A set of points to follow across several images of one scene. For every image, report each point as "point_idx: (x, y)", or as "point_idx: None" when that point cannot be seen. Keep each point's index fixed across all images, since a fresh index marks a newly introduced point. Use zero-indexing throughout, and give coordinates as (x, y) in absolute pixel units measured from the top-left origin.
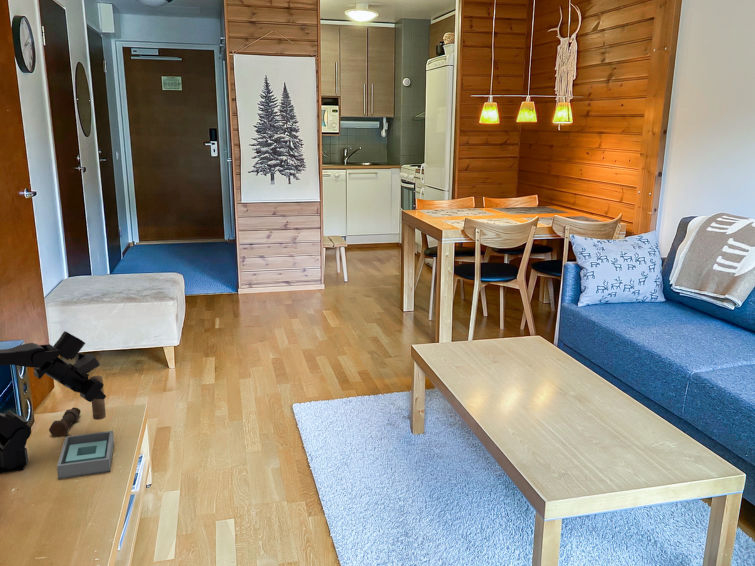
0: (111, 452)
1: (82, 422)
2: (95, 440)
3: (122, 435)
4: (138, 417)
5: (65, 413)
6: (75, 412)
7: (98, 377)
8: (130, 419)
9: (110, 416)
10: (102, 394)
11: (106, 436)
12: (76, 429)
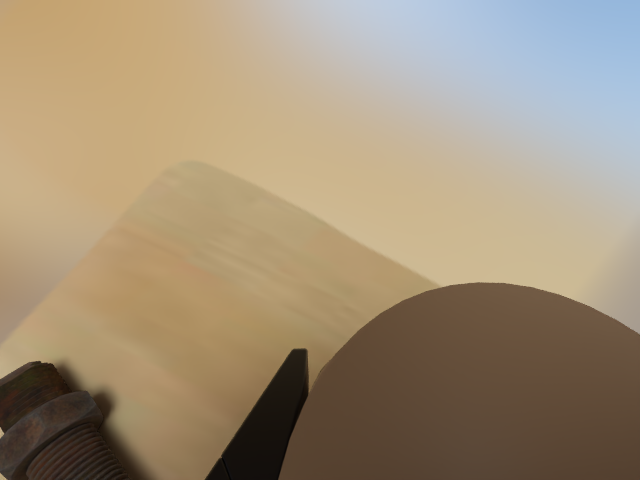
0: None
1: (131, 386)
2: None
3: None
4: (278, 200)
5: (15, 474)
6: (61, 416)
7: (555, 438)
8: (271, 226)
9: (183, 268)
10: None
11: None
12: (176, 446)
